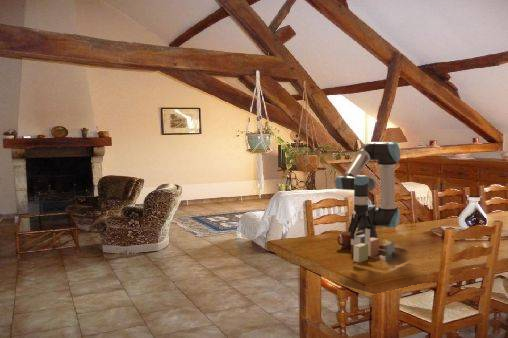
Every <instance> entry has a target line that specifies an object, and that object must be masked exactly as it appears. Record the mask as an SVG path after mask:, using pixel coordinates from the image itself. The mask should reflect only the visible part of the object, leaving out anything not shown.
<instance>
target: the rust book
mask: <svg viewBox="0 0 508 338" xmlns="http://www.w3.org/2000/svg"><path fill="white" fill-rule="evenodd" d="M378 238H379V237H378ZM378 238H373V237H372V238H370V241H366V240H364V244H368V256H369V257H368V258H371V257H372V256H375V255H378V254H379V249H380V238H379V239H378Z"/></svg>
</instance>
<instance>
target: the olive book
mask: <svg viewBox="0 0 508 338" xmlns="http://www.w3.org/2000/svg"><path fill="white" fill-rule="evenodd" d="M352 254H353V255H352V257H353V258H352V259H353V260H352V261H353V262H352V264H353V265H358V266H361V265H362V264H361V263H362V262H364V261H367V260H368V258H369V257H368V244H364V243H360V244H357V245H354V246H353V253H352Z"/></svg>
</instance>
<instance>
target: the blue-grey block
mask: <svg viewBox="0 0 508 338" xmlns="http://www.w3.org/2000/svg"><path fill="white" fill-rule="evenodd" d="M364 240H365V234H361V235H358V236H356V245H357V244H360V243H364Z"/></svg>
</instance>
